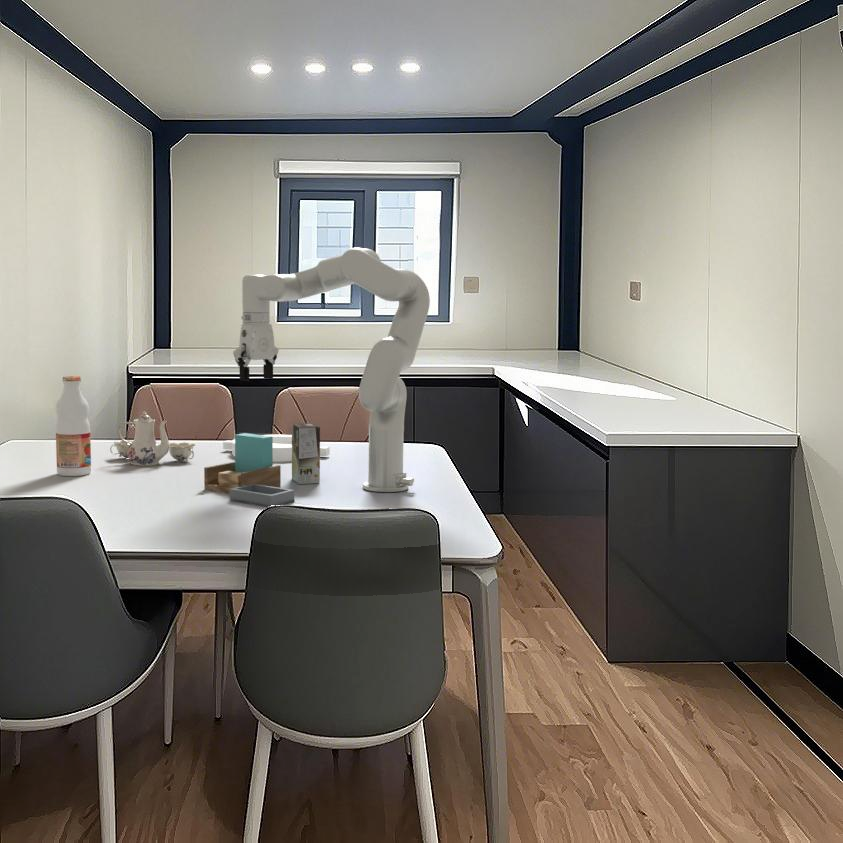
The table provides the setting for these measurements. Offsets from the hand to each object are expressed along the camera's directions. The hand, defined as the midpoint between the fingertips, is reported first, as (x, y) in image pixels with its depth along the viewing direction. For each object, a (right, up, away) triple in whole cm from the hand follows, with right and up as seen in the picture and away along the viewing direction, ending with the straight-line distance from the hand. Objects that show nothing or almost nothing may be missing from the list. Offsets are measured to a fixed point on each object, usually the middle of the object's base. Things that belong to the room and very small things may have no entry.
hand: (256, 379), depth 300 cm
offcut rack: (-2, -30, -11) cm, 32 cm away
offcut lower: (-4, -31, -14) cm, 34 cm away
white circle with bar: (-1, -23, +45) cm, 50 cm away
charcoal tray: (+6, -32, -27) cm, 42 cm away
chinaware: (-37, -25, +27) cm, 52 cm away
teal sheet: (0, -30, -7) cm, 30 cm away
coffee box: (+14, -29, +1) cm, 32 cm away
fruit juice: (-53, -27, +5) cm, 60 cm away
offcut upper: (-4, -28, -15) cm, 32 cm away
